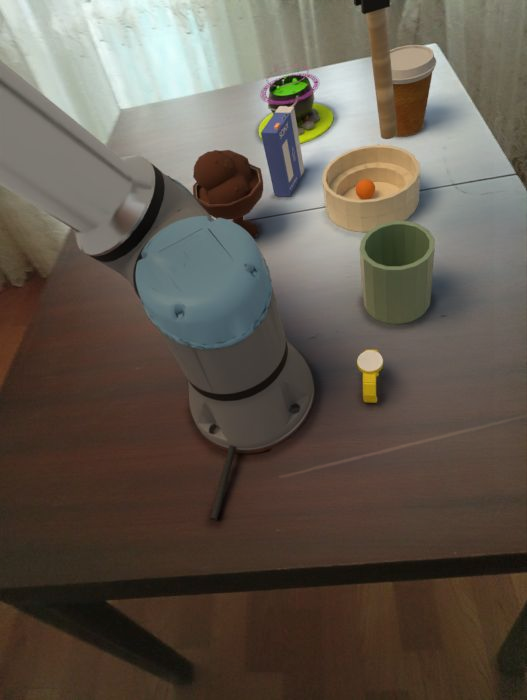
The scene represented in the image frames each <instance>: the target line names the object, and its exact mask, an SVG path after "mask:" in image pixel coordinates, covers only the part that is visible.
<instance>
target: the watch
mask: <svg viewBox="0 0 527 700" xmlns="http://www.w3.org/2000/svg"><path fill="white" fill-rule="evenodd" d="M356 365H357V366H356V367H357V369H358V371H360V372H361V373H362V398H363V402H364V403H371V404H374V403H375V404H377V402H378V397H377V377H379V375H380V373H379V372H381V370H382V369H383V367H384V358H383V356H382V355H381V354H380V352H379V350H378V349H365V350H364V351H362V353H360V354H359V355H358V357H357V359H356Z"/></svg>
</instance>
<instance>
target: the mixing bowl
mask: <svg viewBox="0 0 527 700" xmlns="http://www.w3.org/2000/svg"><path fill="white" fill-rule="evenodd" d="M420 165H421V163H420V161H419V160H418V158H417V157H416V156H415V155H414V154H413V153H411V152H410V151H408V150H407V149H405V148H401V147H398V146H394V145H390V144H389V145H387V144H373V145H364V146H360V147H357V148H353V149H350V150H348V151H346V152H343V153H342V154H340V155H338V156H336V157H335V158H334V159H332V161H330V162H329V163H328V164H327V165H326V168H325V169H324V170H323V172H322V178H321V183H322V192H323V199H324V206H325V211H326V214H327V217H328V219H330V221H332V222H333V223H334V224H335V225H336V226H338V227H339V228H342V229H345V230H347V231H353V232H359V233H367V232H368V231H370V230H371V229H373V228H375V227H376V226H378V225H381V224H384V223H388V222H392V221H407V220H408V219H409V218H410V217H411V216H412V215H413V214H414V213H415V212H416V209H417V208H418V205H419V203H420V185H421V184H420V181H421V180H420V179H421V166H420ZM364 179H368V180H371V181H372V182H373V183H374V185H375V192H374V194H373V196H372V197H370V198H369V199H361V198H359V197H358V196H357V194H356V186H357V184H358V183H359V182H360V181H361V180H364Z"/></svg>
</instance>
